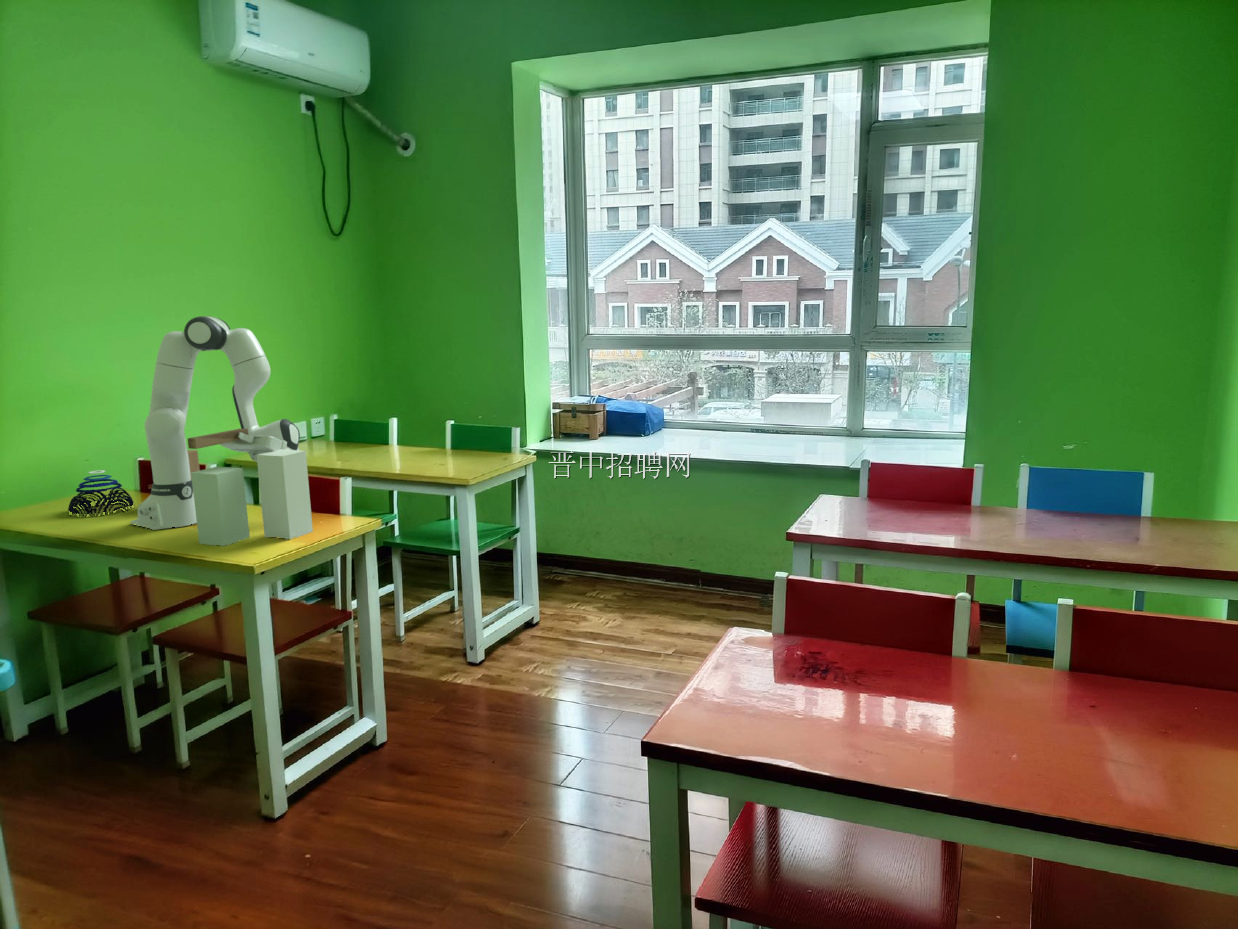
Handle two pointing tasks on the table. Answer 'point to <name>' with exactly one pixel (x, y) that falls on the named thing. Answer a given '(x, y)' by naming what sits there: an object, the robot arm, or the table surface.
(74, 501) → the decorative bowl
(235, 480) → the sage post
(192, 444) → the walnut bar
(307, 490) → the grey post
